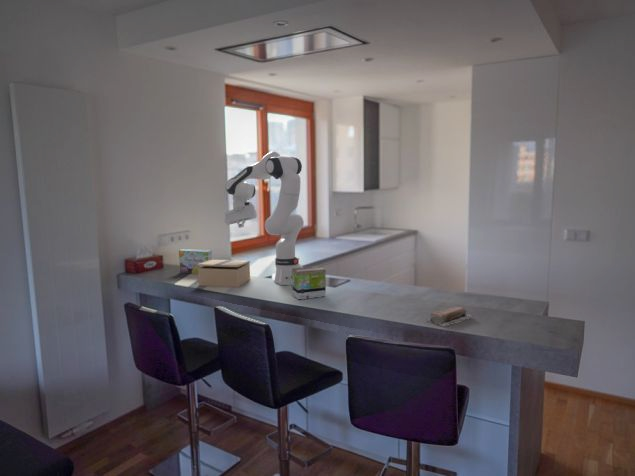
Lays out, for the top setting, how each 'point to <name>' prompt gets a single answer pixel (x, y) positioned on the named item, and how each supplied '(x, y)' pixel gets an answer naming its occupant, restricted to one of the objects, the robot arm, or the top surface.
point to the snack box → (193, 259)
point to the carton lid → (224, 263)
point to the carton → (224, 275)
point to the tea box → (308, 282)
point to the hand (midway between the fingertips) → (241, 227)
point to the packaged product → (449, 316)
